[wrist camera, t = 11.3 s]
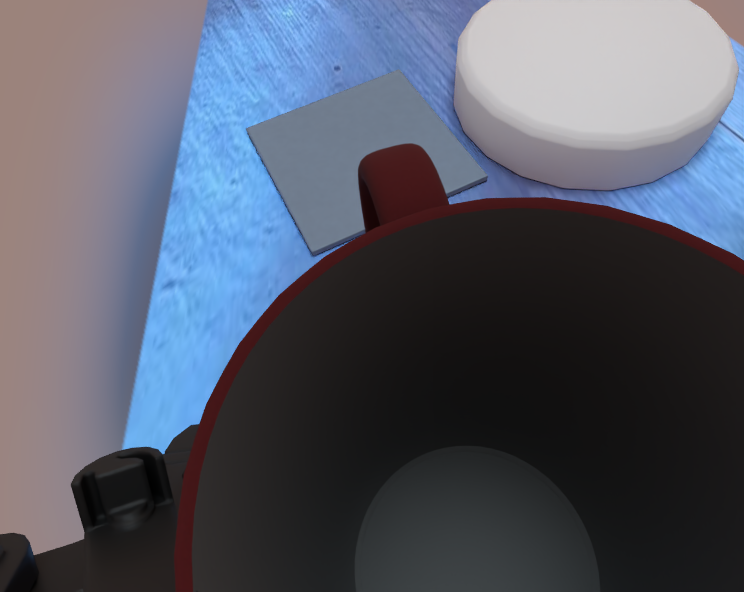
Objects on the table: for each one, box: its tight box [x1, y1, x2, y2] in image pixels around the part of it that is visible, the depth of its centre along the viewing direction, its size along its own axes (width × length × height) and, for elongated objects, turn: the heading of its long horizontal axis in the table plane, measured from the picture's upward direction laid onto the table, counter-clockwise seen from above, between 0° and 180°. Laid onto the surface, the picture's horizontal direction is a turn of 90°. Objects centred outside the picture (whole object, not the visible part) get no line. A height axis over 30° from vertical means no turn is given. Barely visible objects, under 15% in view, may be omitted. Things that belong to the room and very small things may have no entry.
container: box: [454, 0, 739, 190], centre depth 41 cm, size 20×20×5 cm
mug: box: [174, 143, 744, 592], centre depth 12 cm, size 12×9×11 cm
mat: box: [246, 70, 488, 256], centre depth 42 cm, size 14×14×1 cm
